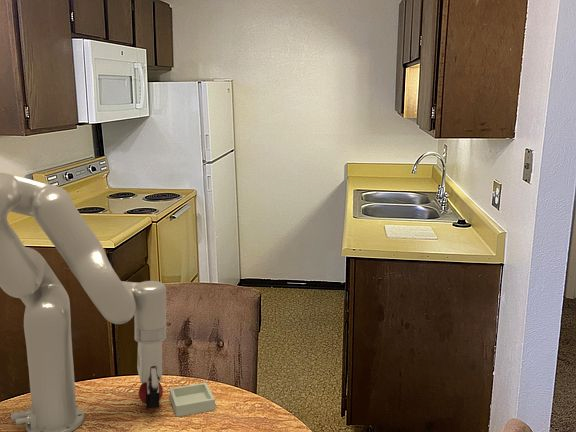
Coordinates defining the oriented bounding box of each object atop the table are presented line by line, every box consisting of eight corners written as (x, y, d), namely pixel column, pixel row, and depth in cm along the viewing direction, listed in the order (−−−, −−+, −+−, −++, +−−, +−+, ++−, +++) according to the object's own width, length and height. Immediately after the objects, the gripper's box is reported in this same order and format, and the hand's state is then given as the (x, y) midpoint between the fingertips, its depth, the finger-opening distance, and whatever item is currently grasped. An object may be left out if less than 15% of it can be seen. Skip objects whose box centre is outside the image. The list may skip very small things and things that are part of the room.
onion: (148, 414, 137) (148, 383, 136) (133, 406, 140) (133, 376, 139) (167, 405, 141) (167, 375, 140) (152, 397, 145) (152, 368, 144)
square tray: (176, 417, 137) (176, 406, 136) (169, 398, 145) (169, 388, 145) (215, 409, 140) (215, 399, 139) (206, 392, 149) (206, 382, 148)
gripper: (130, 321, 144) (131, 387, 147) (138, 347, 128) (139, 420, 131) (160, 318, 147) (160, 383, 150) (172, 343, 131) (171, 415, 134)
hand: (150, 400), depth 141 cm, fingers closed on onion, 5 cm apart
